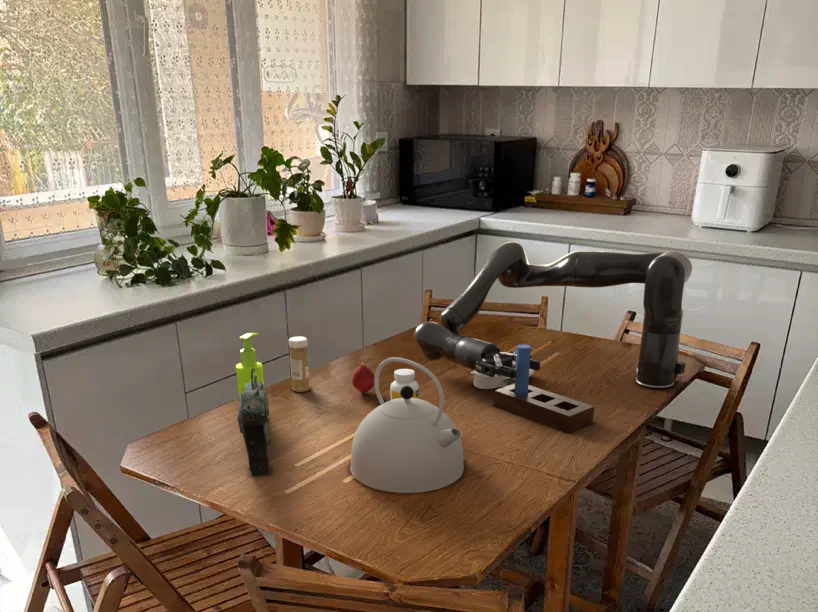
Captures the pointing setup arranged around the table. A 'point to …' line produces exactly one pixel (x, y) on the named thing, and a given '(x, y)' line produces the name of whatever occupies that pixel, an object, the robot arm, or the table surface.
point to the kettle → (407, 443)
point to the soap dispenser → (248, 363)
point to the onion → (363, 379)
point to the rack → (545, 407)
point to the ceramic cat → (255, 425)
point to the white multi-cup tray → (493, 380)
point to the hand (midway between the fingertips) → (527, 370)
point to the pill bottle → (404, 383)
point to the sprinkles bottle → (299, 363)
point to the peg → (522, 369)
